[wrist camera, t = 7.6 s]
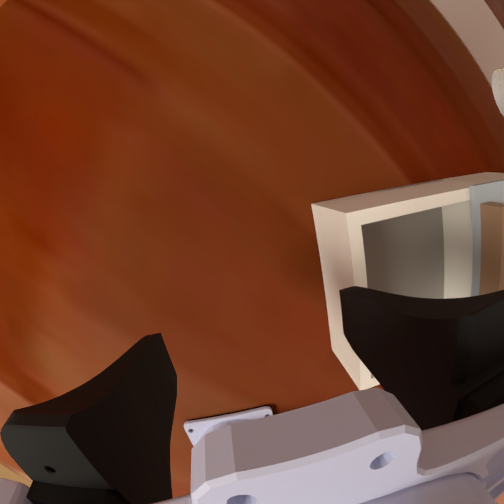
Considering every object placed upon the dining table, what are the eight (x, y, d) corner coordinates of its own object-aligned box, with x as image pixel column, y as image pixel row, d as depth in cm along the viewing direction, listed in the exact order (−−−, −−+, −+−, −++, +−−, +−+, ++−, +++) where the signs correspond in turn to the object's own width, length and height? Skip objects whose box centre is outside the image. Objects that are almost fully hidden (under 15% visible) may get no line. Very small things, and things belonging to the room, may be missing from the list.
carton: (488, 286, 26) (527, 305, 20) (331, 349, 24) (360, 391, 19) (487, 172, 23) (532, 175, 17) (311, 203, 21) (345, 213, 16)
